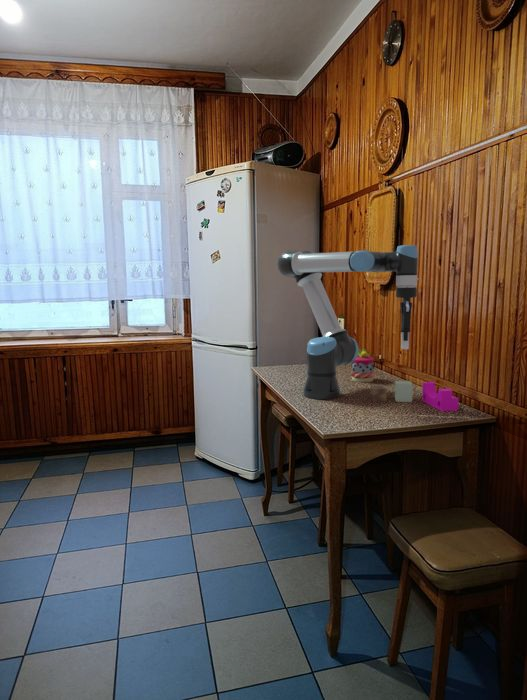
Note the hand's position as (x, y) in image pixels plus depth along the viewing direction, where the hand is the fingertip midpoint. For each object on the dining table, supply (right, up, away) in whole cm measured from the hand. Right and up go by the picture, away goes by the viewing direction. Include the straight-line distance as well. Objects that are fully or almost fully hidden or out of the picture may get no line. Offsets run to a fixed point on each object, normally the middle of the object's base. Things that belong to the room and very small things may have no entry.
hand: (404, 348), depth 180 cm
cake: (-8, -15, +39) cm, 42 cm away
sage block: (0, -20, +3) cm, 20 cm away
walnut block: (-9, -20, +4) cm, 22 cm away
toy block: (+11, -21, -6) cm, 25 cm away
